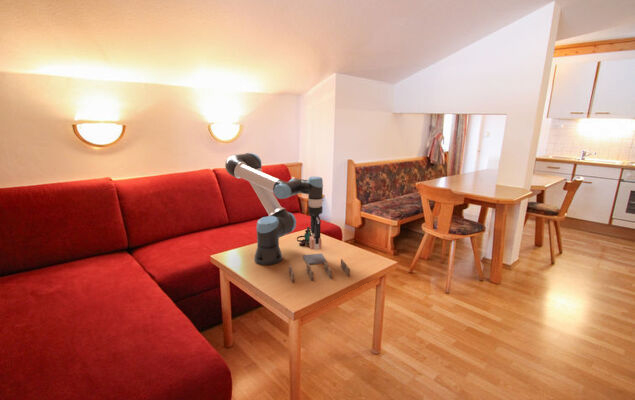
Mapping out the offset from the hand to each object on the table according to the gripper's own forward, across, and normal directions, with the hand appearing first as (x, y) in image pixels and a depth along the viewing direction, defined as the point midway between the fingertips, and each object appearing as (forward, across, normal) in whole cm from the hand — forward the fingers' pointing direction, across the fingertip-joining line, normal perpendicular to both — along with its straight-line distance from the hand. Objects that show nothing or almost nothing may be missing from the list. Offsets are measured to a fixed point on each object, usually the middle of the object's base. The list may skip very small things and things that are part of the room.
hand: (315, 246), depth 175 cm
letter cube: (0, 0, 0) cm, 0 cm away
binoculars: (+8, +24, +1) cm, 26 cm away
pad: (+8, 0, 0) cm, 8 cm away
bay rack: (+8, -17, +2) cm, 19 cm away
